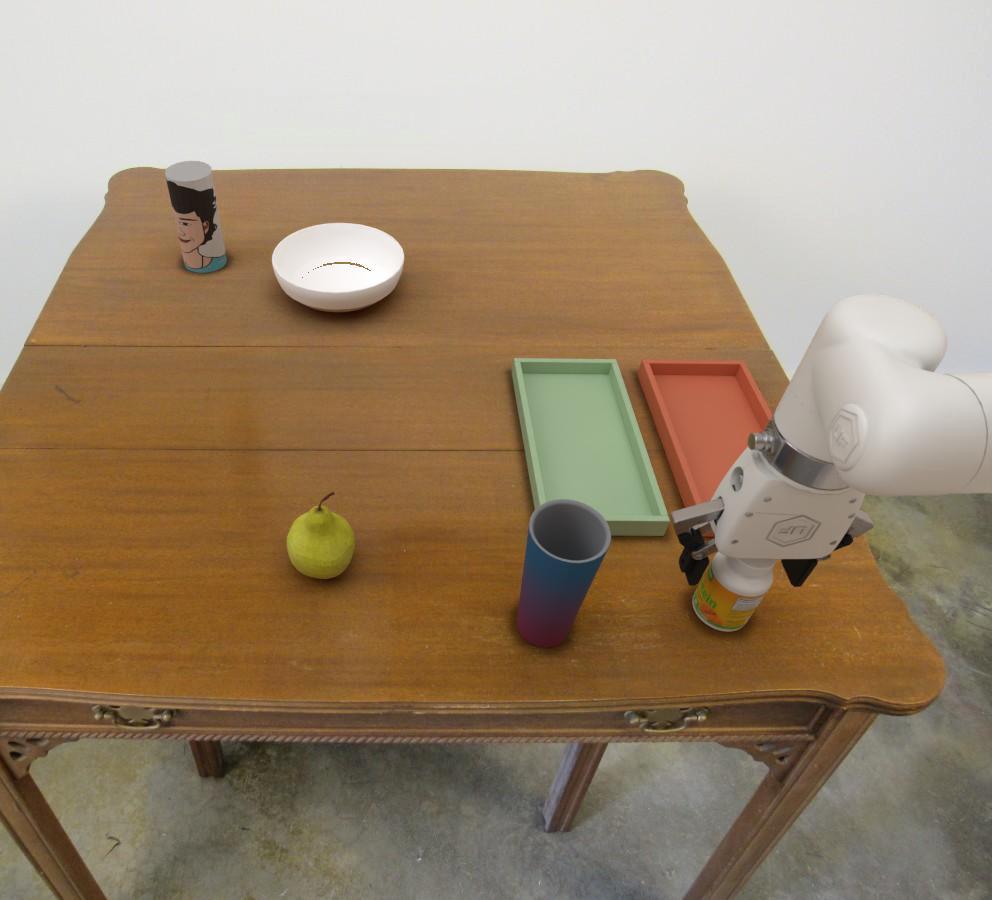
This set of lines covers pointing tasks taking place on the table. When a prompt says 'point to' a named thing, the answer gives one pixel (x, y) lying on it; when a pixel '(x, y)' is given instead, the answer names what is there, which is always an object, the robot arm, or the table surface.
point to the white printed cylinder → (196, 215)
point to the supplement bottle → (732, 591)
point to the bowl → (338, 266)
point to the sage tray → (587, 442)
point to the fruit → (320, 543)
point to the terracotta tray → (702, 419)
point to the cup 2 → (559, 568)
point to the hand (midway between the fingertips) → (739, 573)
